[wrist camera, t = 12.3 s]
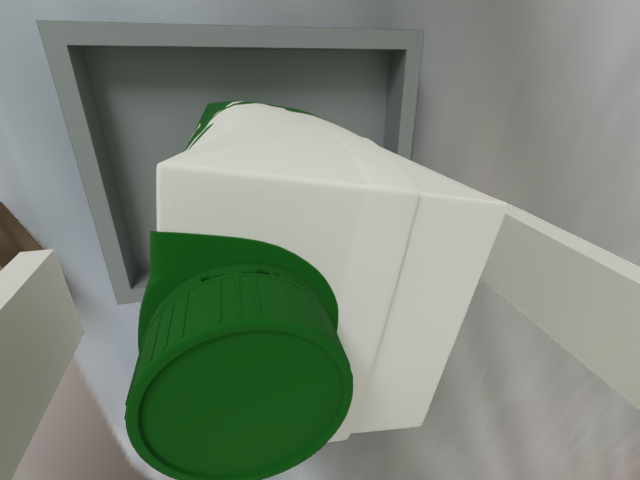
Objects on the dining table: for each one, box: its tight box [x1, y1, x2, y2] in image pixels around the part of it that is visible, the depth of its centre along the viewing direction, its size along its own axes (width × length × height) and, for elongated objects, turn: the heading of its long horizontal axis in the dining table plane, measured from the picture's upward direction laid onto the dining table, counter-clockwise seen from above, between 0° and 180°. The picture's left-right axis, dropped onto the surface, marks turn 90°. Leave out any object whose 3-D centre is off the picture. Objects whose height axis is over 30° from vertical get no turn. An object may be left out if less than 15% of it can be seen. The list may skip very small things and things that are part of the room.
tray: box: [36, 20, 424, 305], centre depth 24 cm, size 16×20×3 cm
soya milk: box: [125, 101, 508, 480], centre depth 16 cm, size 9×9×20 cm
